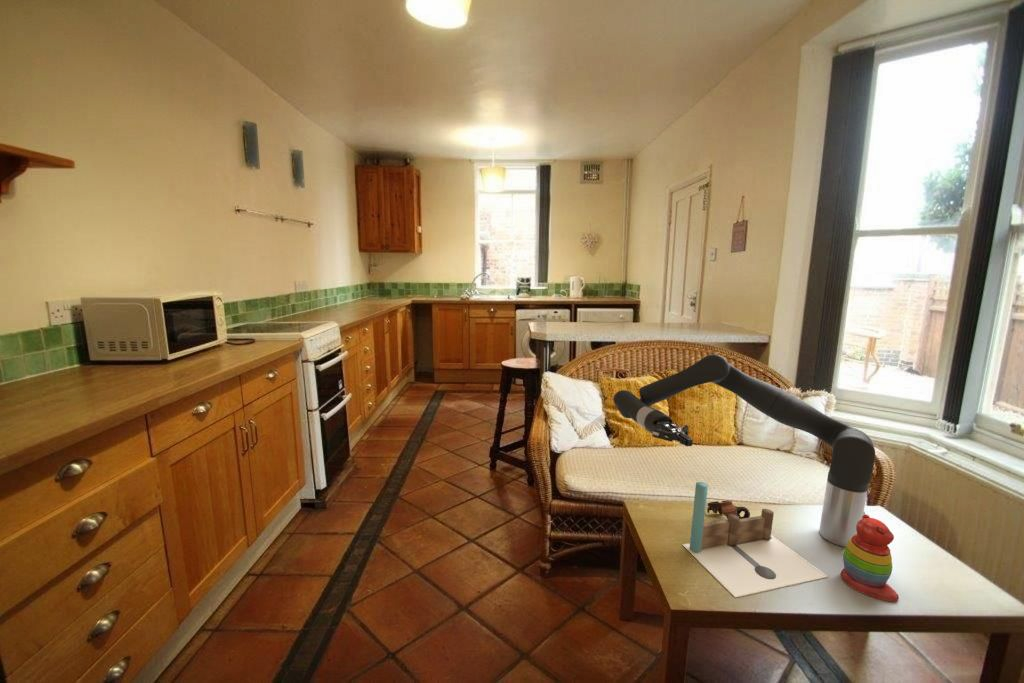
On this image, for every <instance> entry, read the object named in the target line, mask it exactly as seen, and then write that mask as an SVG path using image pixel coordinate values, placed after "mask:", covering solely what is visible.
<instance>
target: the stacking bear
mask: <svg viewBox="0 0 1024 683" xmlns="http://www.w3.org/2000/svg"><path fill="white" fill-rule="evenodd" d="M856 531H857V534H856V535H854V536H853V537H852V538H850V540H849V541H848V543H847V545H846V547H844V549H843V554H842V556H843V557H842V558H843V560H842V561H843V567H844V568H843V569H842V570H841V572H840V575H841V576H840V577H841V579H842V580H843V582H844V583H845V584H846V585H848V586H849V587H850V588H851V589H854V590H855V591H857V592H859V593H861V594H863V595H866V596H868V597H872V598H874V597H875V599H879V600H882V601H887V602H893V603H894V602H898V600H899V598H900V595H899V594H898V593H897V591H896V590H895V589H894V588H892V586H890V585H889V584H888V583H887V582H888V580H889V579H890V577H891V575H892V572H893V558H892V552H891V548H890V547H889V545H891V543H893V541H894V538H895V536H894V533H893V532H892V531H891V530H890V528H889V527H888V526H887V525H886V524H885V523H884V522H883V521H881V520H880V519H877V518H874V517H870V515H868V514H866V513H865V515H863V516H862V519H861V520H860V521H859V522H858V523H857V526H856Z"/></svg>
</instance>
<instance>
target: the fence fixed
mask: <svg viewBox="0 0 1024 683" xmlns="http://www.w3.org/2000/svg"><path fill="white" fill-rule="evenodd" d="M760 514H761V515H757V516H750V517H749V518H743V519H740V518H739V517H738V516H736V515H734V514H729V515H728V519H727V518H726V520H728V521H729V522H730V525H729V533H728V542H727V544H726V545H728V546H730V547H735V546H737V544H739V543H744V542H750V541H755V540H760V539H763V540H765V541H769V540H770V538H771V535H772V530H773V529H772V528H773V523H774V522H773V521H774V514H775V513H774V511H772V510H771V509H768V508H763V509H761V513H760Z"/></svg>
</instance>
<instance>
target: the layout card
mask: <svg viewBox="0 0 1024 683" xmlns="http://www.w3.org/2000/svg"><path fill="white" fill-rule="evenodd" d="M682 545H683V546H684V547H685V548H686V549H687V550H688V551H689V552H690V553H691V554H692V555H693V556H694V557H695V558H696V559H697V560H698V561H697V562H699V564H700V565H701V566H702V567H704V568H705V570H706V571H708V573H709V574H711V575H712V577H714V578H715V580H717V581H718V582H719V584H720V585H722V586H723V587H724V588H725V589H726V590H727V591H728V592H729V593H730V594H731V595H732V596H733V598H734V599H736V598H741V597H745V596H752V595H755V594H760V593H764V592H770V591H773V590H778V589H782V588H787V587H790V586H795V585H800V584H804V583H809V582H813V581H818V580H823V579H828V578H829V576H828V575H827V574H826V573H824V572H823V571H822V570H820V569H819V568H818V567H816V566H814V565H813V564H812V563H810V562H809V561H808V560H806V559H805V558H803V557H802V556H801V555H800V554H798V553H797V552H796V551H794V550H793V549H791V548H790V547H788V546H787V545H786V544H784V543H783V542H781V541H780V540H779V539H778V538H776V537H774V536H773V535H772V534H771V538H770V540H769V541H765V540H763V539H760V540H755V541H750V542H744V543H739V544H737V546H735V547H730V546H728V545H721V546H715V547H710V548H704V549H701V551H700V552H695V551H692V550H691V549H690V542H689V543H688V542H687V543H683V544H682ZM683 546H682V547H683ZM684 547H683V548H684ZM685 548H684V549H685ZM686 549H685V550H686ZM687 550H686V551H687ZM688 551H687V552H688ZM689 552H688V553H689ZM690 553H689V554H690ZM691 554H690V555H691ZM692 555H691V556H692ZM693 556H692V557H693ZM694 557H693V558H694ZM696 559H695V560H696Z"/></svg>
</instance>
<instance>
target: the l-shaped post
mask: <svg viewBox="0 0 1024 683" xmlns="http://www.w3.org/2000/svg"><path fill="white" fill-rule="evenodd" d="M708 487H709V485H708V484H707V483H706V482H703V481H697V482H696V483H695V487H694V488H695V489H694V501H693V510H692V519H691V520H692V521H691V529H690V530H691V532H690V539H689V540H690V541H689V543H690V549H691V550H692V551H695V552H700V551H701V549H704V548H710V547H715V546H721V545H726V544H727V542H728V533H729V525H730V522H729V521H728V520H727V519H723V520H716V521H712V522H711V521H710V522H706V523H705V518H706V510H707V508H706V507H707V498H708Z"/></svg>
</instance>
